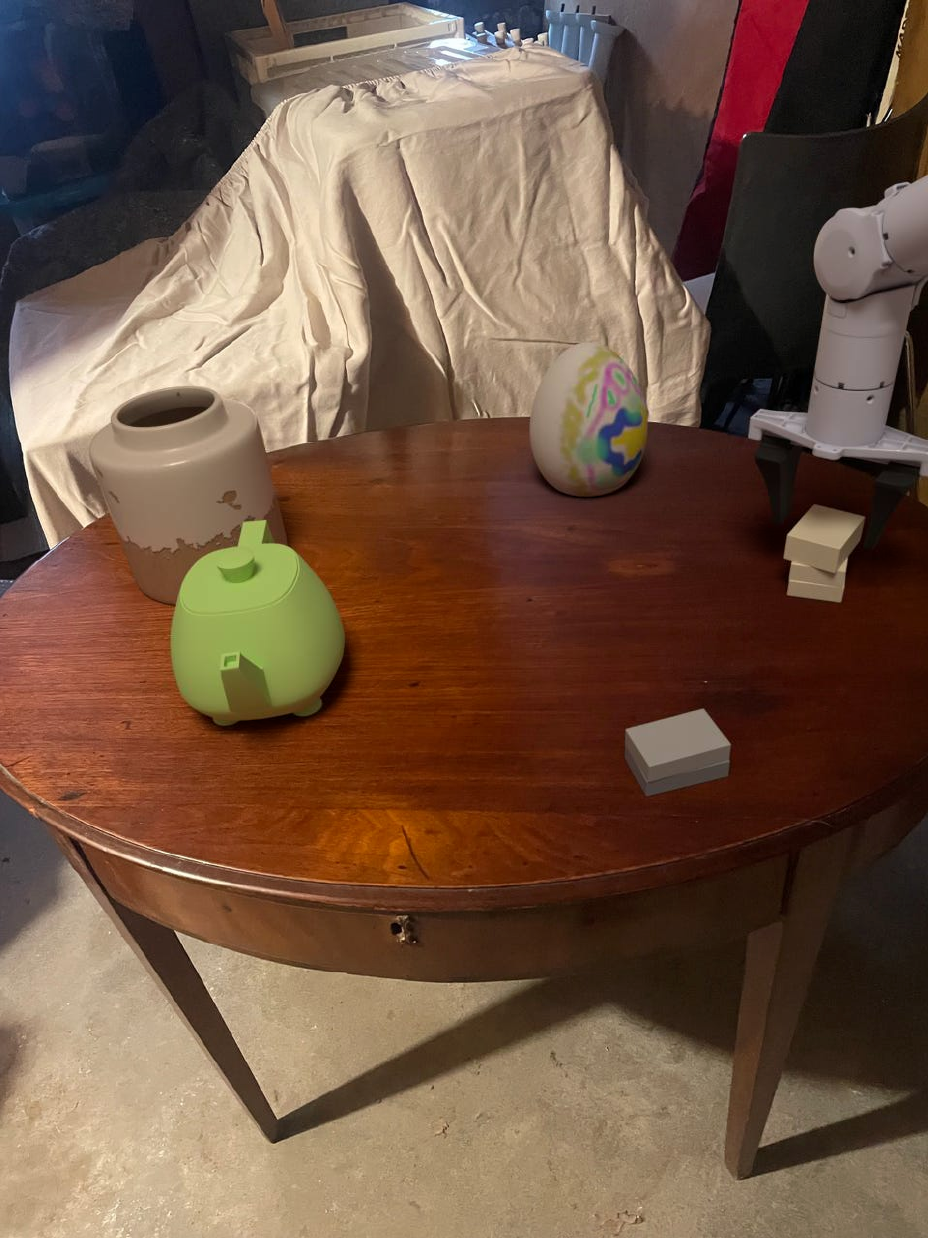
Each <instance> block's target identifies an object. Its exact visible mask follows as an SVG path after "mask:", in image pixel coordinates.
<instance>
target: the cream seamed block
mask: <svg viewBox="0 0 928 1238" xmlns="http://www.w3.org/2000/svg"><path fill="white" fill-rule="evenodd" d="M848 561H849V556H848V557H847V558H846V560H845V561H844V562H843V564H842V565H841V566H840V568H839V569H838V570H837V571H836V573H832V572H828V571H825V570H821V569H818V568H814V567H811V566H807V565H804V564H800V563H797V562H793V561H791V562H790V567H789V574H788V584H787V590H786V596H789V597H796V598H803V599H810V600H816V601H817V600H818V601H824V602H825V601H826V602H832V603H840V604H841V603H842V601H843V596H844V592H845V585H846V584H845V583H846V572H847V567H848Z"/></svg>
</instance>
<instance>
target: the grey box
mask: <svg viewBox="0 0 928 1238" xmlns="http://www.w3.org/2000/svg"><path fill="white" fill-rule="evenodd" d="M624 730H625V733H624V734H625V735H624V736H625V738H624V739H625V740H624V760H625V762H626V763H627V766H628V767H629V769H630V771H631V772H632V774H633V776H634V778H635V779H636V782H637V784H638V785H639V787H640V789H641V791H642V792H643V794H644V796H645V798H646V797H650V796H656V795H659V794H662V793H663V794H664V793H667V792H671V791H675V790H679V789H683V788H686V787H691V786H696V785H699V784H702V783H707V782H711V781H715V780H718V779H719V780H720V779H723V778H727V777H729V771H730V763H731V761H730V753H731V746H732V744H731V743H730V742H729V740H728V738H727V737H726V736H725V734H724V733H723V732H722V731H721V730H720V728H719V727H718V726H717V724H716V723H715V721H714V720H713V719H712V718H711V716H710V715H709V714H708V712H707V711H706V710H705V708H699V709H696V710H693V711H688V712H685V713H684V712H683V713H681V714H677V715H674V716H670V717H669V716H668V717H665V718H662V719H658V720H654V721H651V722H648V723H643V724H639V725H637V726H632V727H629V728H626V729H624Z"/></svg>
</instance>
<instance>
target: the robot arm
mask: <svg viewBox="0 0 928 1238" xmlns="http://www.w3.org/2000/svg"><path fill="white" fill-rule="evenodd" d="M813 266H814V267H813V268H814V272H815V276H816V279H817V281H818V284H819V285H820V287H821V289H822V290H823V291H824V293H825V299H824V300H825V301H824V307H823V313H822V320H821V325H820V327H821V328H820V330H819V331H820V332H819V339H818V344H817V351H816V356H815V357H816V358H815V364H814V369H813V376H812V384H811V389H810V397H809V403H808V409H807V412H797V411H780V410H779V411H777V410H769V409H764V408H760V409H758V410H757V411H756V412H755V413H754V414H753V415H751V416H750V419H749V427H748V435H747V438H748V439H749V440H753V441H758V442H759V441H760V443H759V447H758V448H757V449H756V450H755V451H754V453H753V454H754V456H753V457H754V463H755V464H756V466H757V468H758V470H759V472H760V474H761V476H762V478H763V481H764V484H765V486H766V490H767V494H768V499H769V502H770V509H771V517H772V524H773V525H776V526H781V525H782V524H783V523H784V522H785V521H786V520H787V519H788V518H789V517H790V515H791V510H792V506H793V500H794V493H795V492H794V491H795V484H796V483H795V482H796V476H797V473H798V472H797V471H798V467H799V463H800V459H801V455H802V452H803V448H808V449H810V450H812V451H811V454H812V455H813V456H814V457H817V458H822V459H826V460H831V461H837V460H839V459H841V458H856V459H860V460H864V461H870V462H873V463H877V464H883V465H887V466H886V467H885V468H884V469H883V470H882V471H881V472H880V474H879V475H878V476H877V477H876V478H875V480H874V484H873V485H874V487H873V489H874V490H873V501H872V509H871V515H870V519H869V523H868V527H867V529H866V533H865V536H864V542H863V549H865V550H874V548H876V546H877V545H878V543H879V542H880V540H881V538H882V535H883V533H884V530H885V528H886V526H887V524H888V522H889V520H890V518H891V516H892V515H893V513H894V511H895V510H896V508H897V506H898V505H899V504H900V502H901V501H902V499H904V497H905V496H906V495H907V494H908V493H909V492H910V491H911V489H912V488H913V487H914V486H915V484H916V483H917V481H918V480H919V479H920V478H921V477H925V478H928V439H924V438H921V437H919V436H916V435H913V434H910V433H909V432H905V431H902V430H899V429H897V428H894V427H891V426H889V425H886V424H887V420H888V414H889V410H890V405H891V402H892V396H893V392H894V387H895V383H896V376H897V373H898V368H899V364H900V358H901V355H902V349H903V345H904V340H905V336H906V330H907V326H908V321H909V317H910V312H912V311H913V310H914V308H915V306H918V305H919V301H920V296H921V292H922V289H923V287H924V285H925V284H926V283H927V282H928V174H926V175H924V176H923V177H921V178H919V179H918V180H915V181H914V182H912V183H910V182H908V181H905V182H900V183H896V184H893V185H892V186H890V187H888V188H886V189H885V190H884V198H883V199H881V200H880V201H879V202H878V203H877V204H876V205H871V206H866V207H861V208H859V207H846V208H841V209H838V211H836V212H835V214H834V215H833V216H832V217H831V218H830V219H828V220H827V221H826V222H825V223H824V225H823V226H822V227H821V229H820V231H819V233H818V235H817V237H816V240H815V244H814V250H813Z"/></svg>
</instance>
